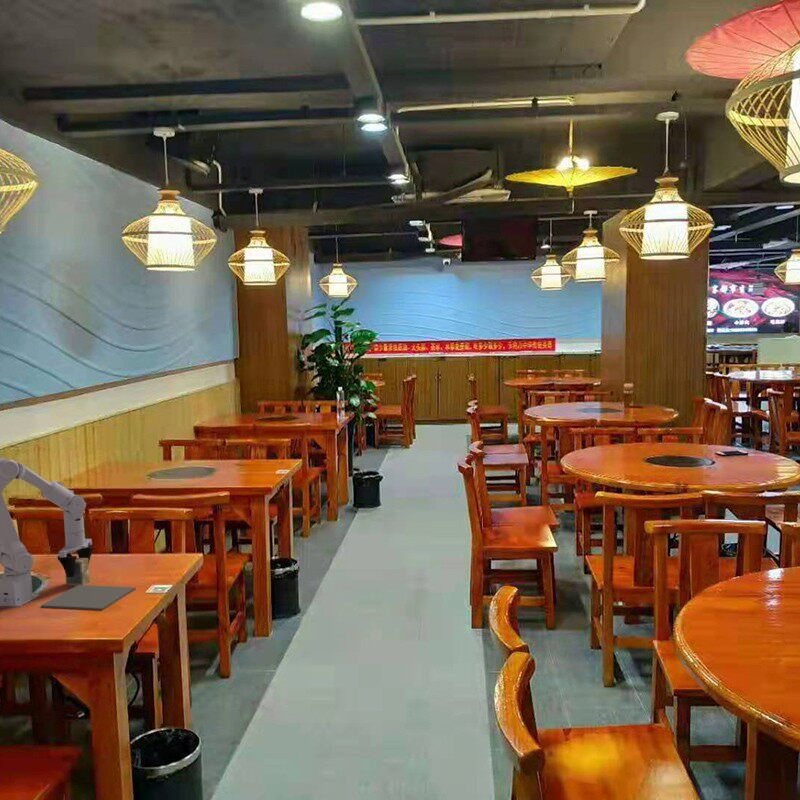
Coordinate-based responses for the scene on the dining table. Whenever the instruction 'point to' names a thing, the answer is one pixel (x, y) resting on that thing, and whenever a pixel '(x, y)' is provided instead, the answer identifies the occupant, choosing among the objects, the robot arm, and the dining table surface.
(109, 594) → the mat
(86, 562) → the light wood block
